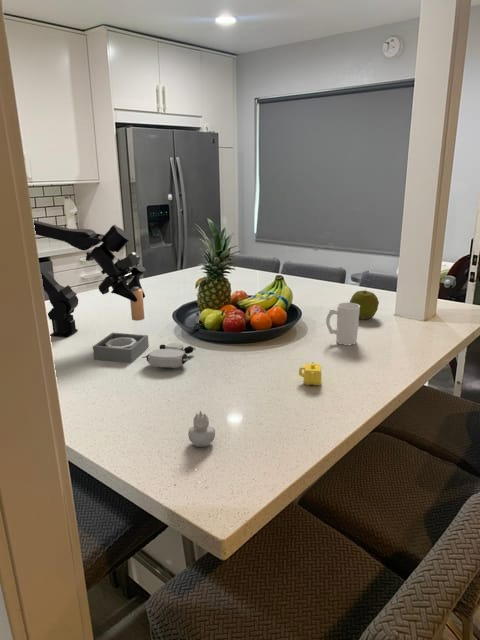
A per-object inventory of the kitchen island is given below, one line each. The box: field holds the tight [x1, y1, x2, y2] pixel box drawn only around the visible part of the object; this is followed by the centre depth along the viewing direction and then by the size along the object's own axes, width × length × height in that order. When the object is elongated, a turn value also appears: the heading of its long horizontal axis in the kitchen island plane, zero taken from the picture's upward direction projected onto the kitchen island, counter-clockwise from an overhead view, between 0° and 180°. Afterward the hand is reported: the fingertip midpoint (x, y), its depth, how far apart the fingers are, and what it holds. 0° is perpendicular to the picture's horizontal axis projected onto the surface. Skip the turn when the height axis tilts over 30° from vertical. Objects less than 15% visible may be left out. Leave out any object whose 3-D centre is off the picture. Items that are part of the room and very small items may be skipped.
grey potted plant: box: [187, 410, 216, 448], centre depth 98 cm, size 5×7×8 cm
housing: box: [92, 332, 150, 364], centre depth 145 cm, size 12×12×4 cm
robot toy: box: [141, 342, 197, 369], centre depth 138 cm, size 12×4×15 cm
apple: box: [349, 290, 380, 320], centre depth 173 cm, size 10×10×11 cm
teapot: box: [298, 362, 322, 386], centre depth 125 cm, size 8×6×5 cm
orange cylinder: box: [129, 287, 145, 322], centre depth 153 cm, size 4×4×10 cm
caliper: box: [195, 311, 201, 324], centre depth 173 cm, size 20×1×6 cm, turn 173°
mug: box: [325, 302, 360, 346], centre depth 151 cm, size 10×7×12 cm, turn 89°
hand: (140, 299), depth 152 cm, fingers closed on orange cylinder, 4 cm apart
